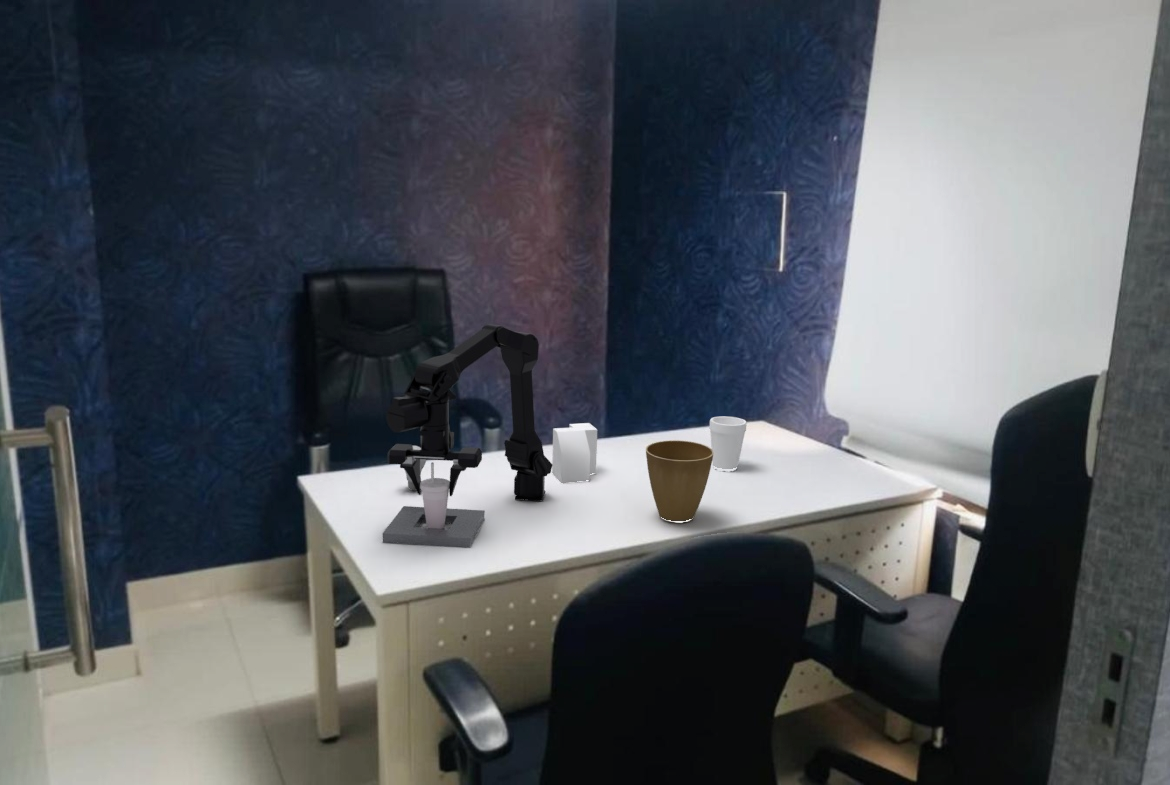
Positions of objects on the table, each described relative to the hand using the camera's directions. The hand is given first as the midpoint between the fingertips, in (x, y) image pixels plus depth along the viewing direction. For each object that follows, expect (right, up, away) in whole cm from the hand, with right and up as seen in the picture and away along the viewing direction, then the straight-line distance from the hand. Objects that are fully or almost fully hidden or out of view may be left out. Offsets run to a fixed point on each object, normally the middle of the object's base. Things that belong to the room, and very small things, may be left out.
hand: (435, 494), depth 188 cm
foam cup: (+68, +1, +50) cm, 85 cm away
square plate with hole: (0, -8, +2) cm, 8 cm away
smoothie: (0, -7, +2) cm, 7 cm away
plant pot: (+52, -7, +13) cm, 54 cm away
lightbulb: (-10, -2, +26) cm, 28 cm away
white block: (+29, 0, +41) cm, 50 cm away
